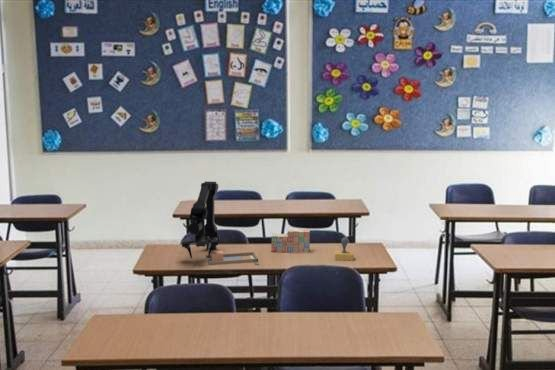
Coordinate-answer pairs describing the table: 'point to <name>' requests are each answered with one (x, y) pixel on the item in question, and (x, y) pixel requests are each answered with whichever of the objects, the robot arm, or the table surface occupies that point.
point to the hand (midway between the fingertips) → (200, 258)
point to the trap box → (234, 258)
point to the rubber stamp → (344, 252)
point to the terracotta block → (216, 255)
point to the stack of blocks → (292, 241)
